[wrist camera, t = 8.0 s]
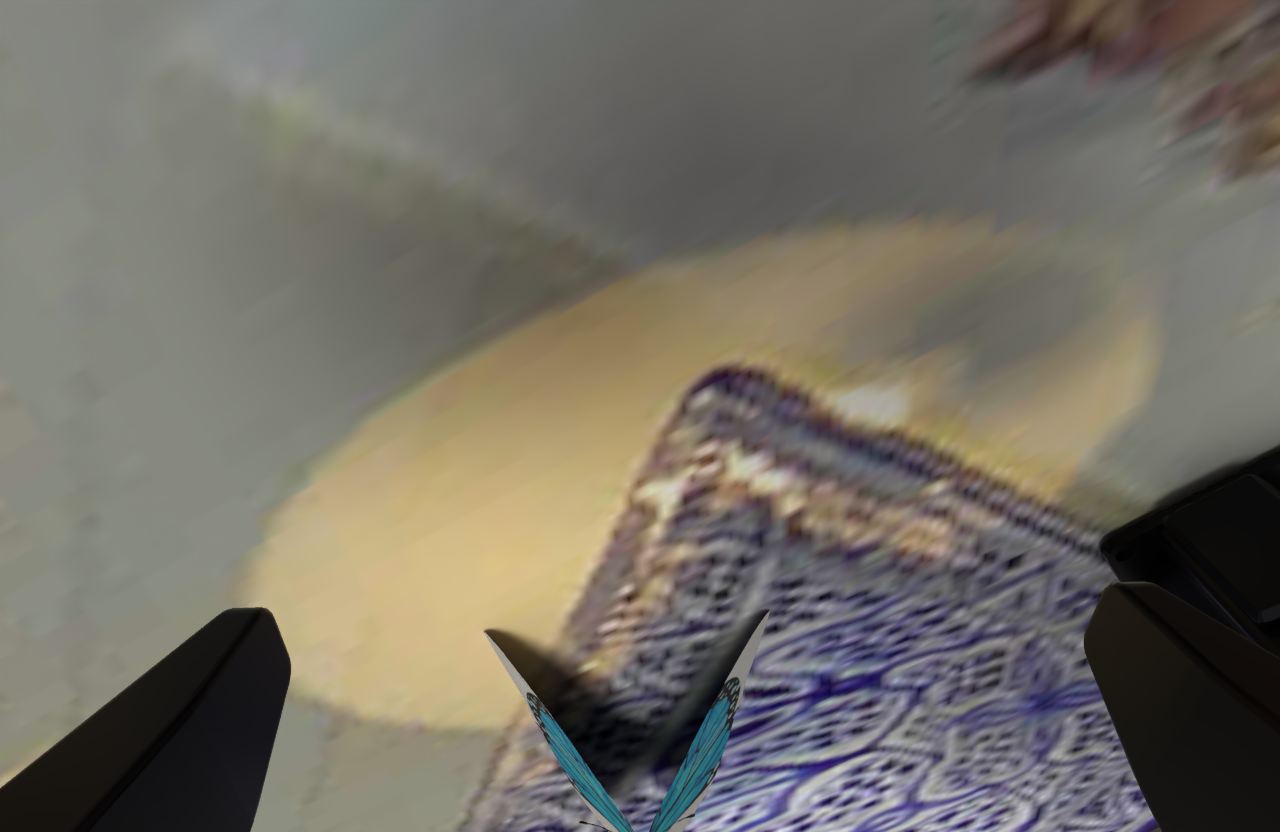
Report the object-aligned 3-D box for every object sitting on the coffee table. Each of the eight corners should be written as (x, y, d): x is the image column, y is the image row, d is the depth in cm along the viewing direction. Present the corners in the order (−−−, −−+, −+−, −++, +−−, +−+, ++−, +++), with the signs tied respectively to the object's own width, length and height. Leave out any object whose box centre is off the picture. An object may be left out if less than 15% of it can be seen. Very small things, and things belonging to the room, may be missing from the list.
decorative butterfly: (517, 906, 28) (455, 833, 21) (526, 732, 33) (477, 622, 25) (784, 887, 28) (815, 807, 21) (757, 715, 33) (775, 600, 25)
